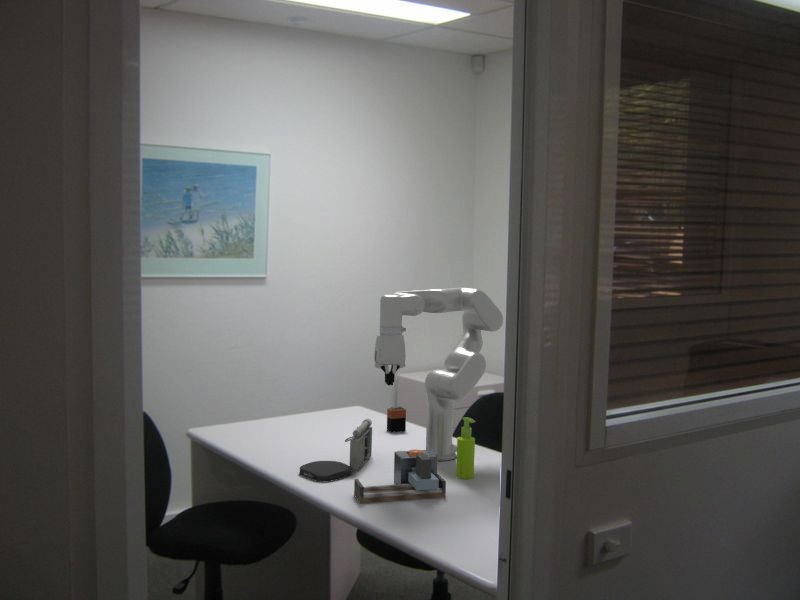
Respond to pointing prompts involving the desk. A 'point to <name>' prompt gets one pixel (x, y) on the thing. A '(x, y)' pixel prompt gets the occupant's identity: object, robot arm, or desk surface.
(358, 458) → the geiger counter
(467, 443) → the soap dispenser
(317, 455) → the desk surface
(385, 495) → the rail
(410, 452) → the button
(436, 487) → the carriage
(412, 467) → the cabinet
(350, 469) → the media streaming box
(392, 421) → the battery
